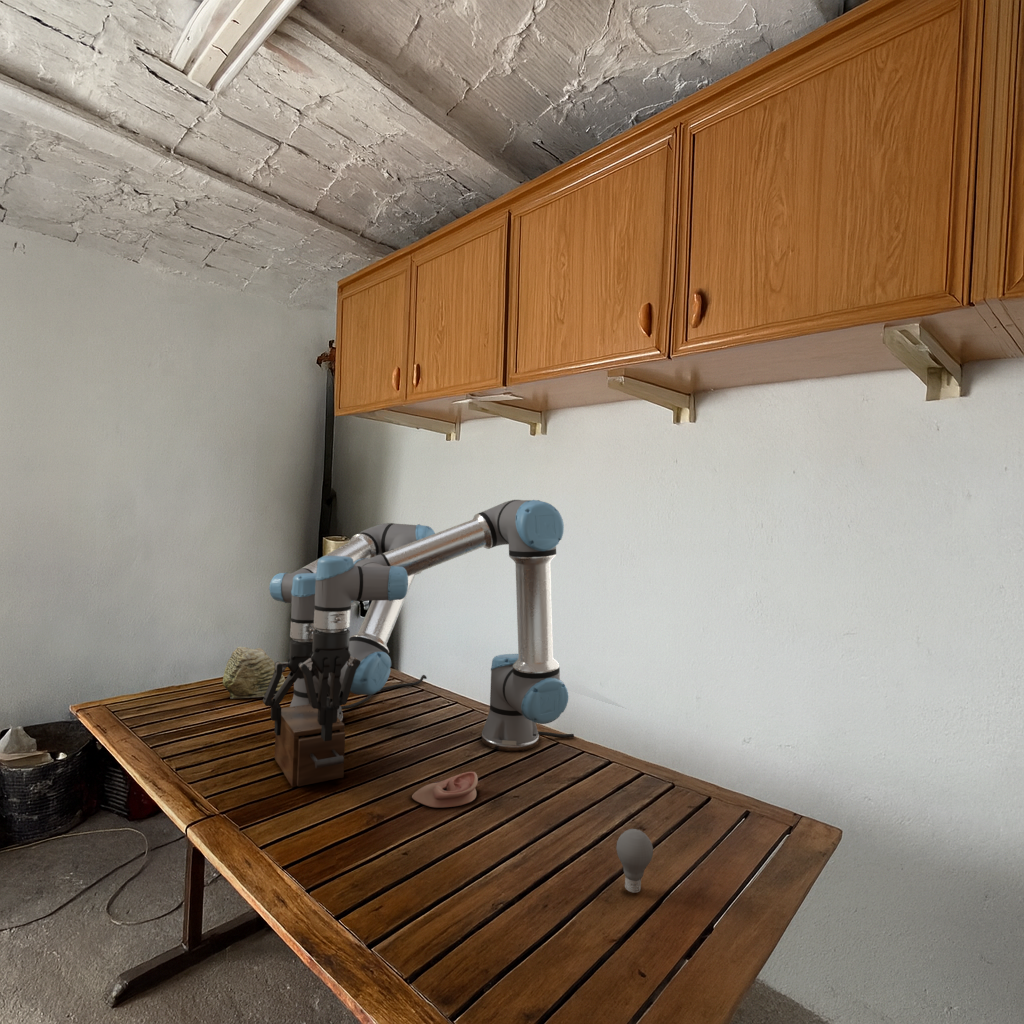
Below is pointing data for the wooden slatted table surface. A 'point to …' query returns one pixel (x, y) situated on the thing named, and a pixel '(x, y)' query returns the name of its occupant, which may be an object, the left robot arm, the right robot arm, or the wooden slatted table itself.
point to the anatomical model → (449, 791)
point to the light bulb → (634, 857)
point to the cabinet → (296, 736)
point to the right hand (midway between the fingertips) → (326, 738)
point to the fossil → (249, 673)
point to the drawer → (320, 758)
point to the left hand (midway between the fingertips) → (303, 729)
